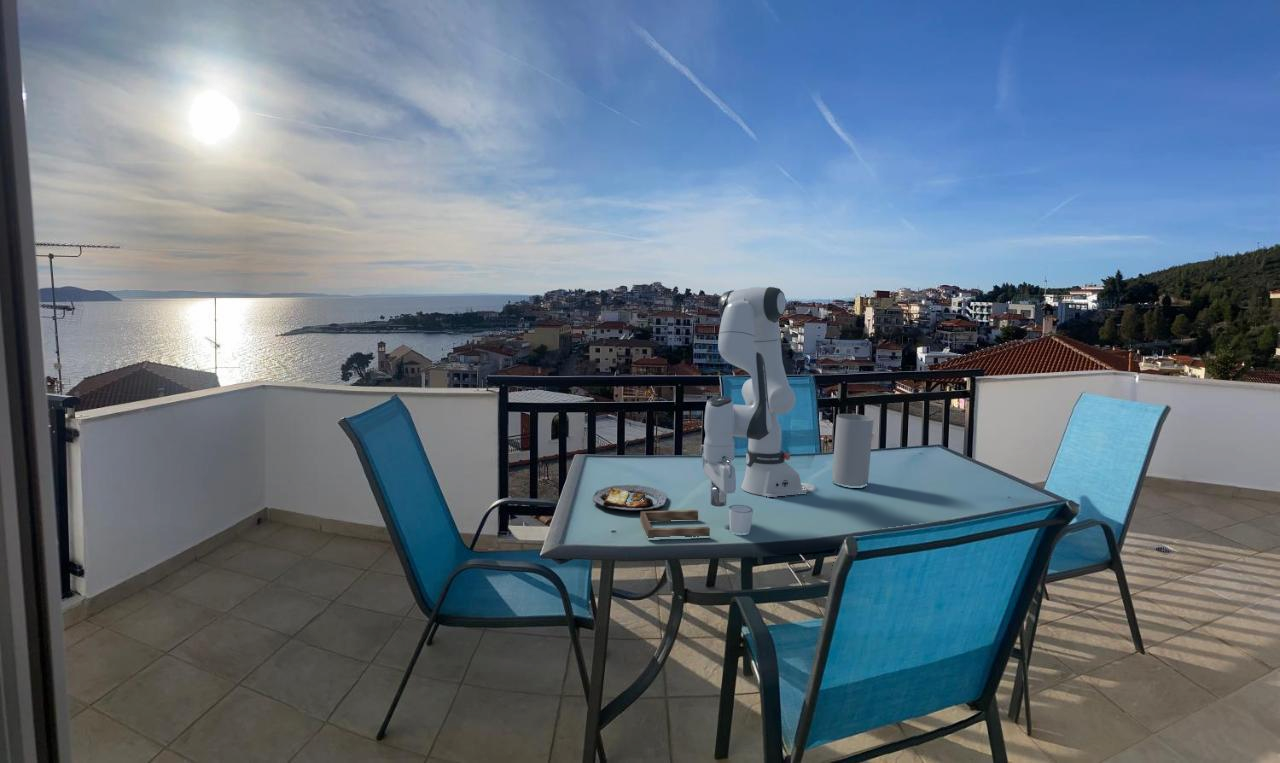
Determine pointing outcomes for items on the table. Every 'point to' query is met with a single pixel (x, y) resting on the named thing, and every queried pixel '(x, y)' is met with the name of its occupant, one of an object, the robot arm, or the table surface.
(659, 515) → the wooden u-shaped frame
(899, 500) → the table surface
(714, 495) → the grey rounded piece
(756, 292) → the robot arm
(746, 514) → the shot glass
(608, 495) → the food plate
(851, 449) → the cylinder vase
